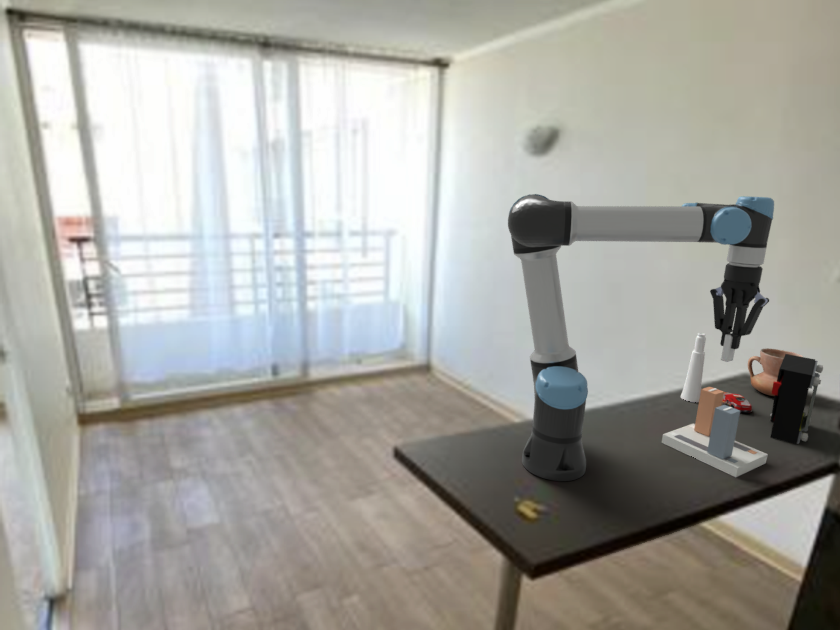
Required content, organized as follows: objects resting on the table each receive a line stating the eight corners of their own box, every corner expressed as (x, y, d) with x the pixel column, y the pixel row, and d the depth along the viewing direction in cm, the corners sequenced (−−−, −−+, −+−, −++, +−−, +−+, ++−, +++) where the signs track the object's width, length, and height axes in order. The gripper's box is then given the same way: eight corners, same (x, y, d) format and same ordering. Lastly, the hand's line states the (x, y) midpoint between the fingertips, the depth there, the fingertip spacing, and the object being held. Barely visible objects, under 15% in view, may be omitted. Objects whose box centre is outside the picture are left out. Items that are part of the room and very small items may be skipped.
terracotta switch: (694, 430, 152) (701, 388, 149) (702, 427, 154) (709, 385, 151) (708, 436, 149) (715, 393, 145) (716, 433, 151) (724, 390, 148)
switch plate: (661, 442, 150) (662, 433, 149) (692, 431, 157) (693, 423, 157) (735, 477, 134) (737, 467, 133) (765, 463, 141) (767, 453, 140)
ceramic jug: (811, 397, 186) (819, 356, 183) (793, 405, 178) (801, 363, 175) (754, 381, 200) (760, 343, 197) (734, 388, 192) (741, 349, 189)
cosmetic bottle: (679, 399, 180) (690, 334, 174) (681, 393, 185) (692, 330, 179) (700, 404, 177) (711, 337, 171) (701, 398, 182) (713, 333, 177)
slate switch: (707, 452, 140) (715, 407, 137) (716, 448, 142) (724, 404, 139) (722, 459, 136) (731, 413, 133) (731, 455, 139) (740, 409, 136)
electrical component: (805, 446, 151) (821, 377, 146) (762, 435, 157) (776, 368, 152) (809, 425, 164) (824, 361, 159) (769, 415, 170) (782, 353, 165)
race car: (714, 397, 184) (716, 386, 183) (731, 398, 183) (733, 387, 182) (735, 414, 171) (737, 402, 170) (753, 415, 171) (755, 403, 170)
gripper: (782, 267, 127) (762, 366, 132) (725, 259, 137) (710, 350, 143) (765, 269, 123) (745, 371, 129) (708, 260, 133) (692, 354, 139)
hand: (726, 360), depth 136 cm, fingers closed
